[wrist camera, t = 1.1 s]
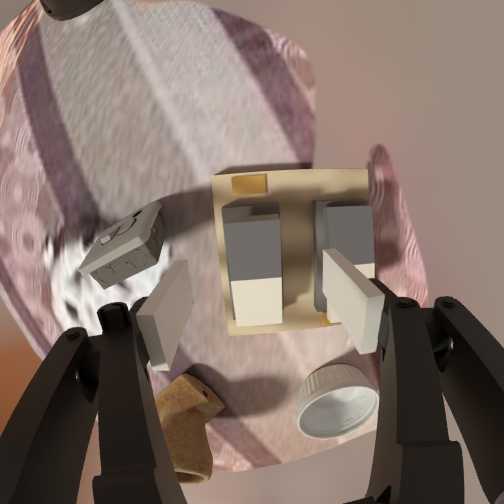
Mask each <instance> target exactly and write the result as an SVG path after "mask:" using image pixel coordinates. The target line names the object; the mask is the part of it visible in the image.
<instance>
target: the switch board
mask: <svg viewBox="0 0 504 504" xmlns="http://www.w3.org/2000/svg"><path fill="white" fill-rule="evenodd" d="M211 184H212V194H213V205H214V215H215V225H216V234H217V243H218V252H219V261H220V269H221V278H222V286H223V294H224V301H225V309H226V317H227V324H228V331H229V336H235V335H250V334H263V333H274V332H285V331H294V330H303V329H312V328H320V327H327V326H334V325H341V324H342V323H341V322H337V323H330V321H329V320H328V319H327V298H326V297H325V295H324V293H323V249H326V248H325V230H324V215H323V208H326V207H345V206H369V191H368V169H299V170H277V171H261V172H247V173H235V174H224V175H214V176H211ZM268 214H278V216H279V218H280V234H281V273H282V323H278V324H267V325H255V326H241V327H237V324H236V317H235V309H234V302H233V295H232V287H231V279H230V272H229V264H228V256H227V248H226V239H225V231H224V219H225V218H230V217H242V216H255V215H268Z"/></svg>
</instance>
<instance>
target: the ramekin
mask: <svg viewBox="0 0 504 504" xmlns="http://www.w3.org/2000/svg"><path fill="white" fill-rule="evenodd" d="M378 408H379V394H378V392H377V390H376V388H375V387H374V386H373V385H372V384H371V383H370V382H369V381H368V379H367V378H366V377H365V375H364V374H363V373H362V372H361V371H360V370H359V369H357V368H355V367H354V366H350V365H346V364H336V365H330V366H326V367H323V368H321V369H319V370H317V371H315V372H314V373H312V374H311V375H310V376H308V377H307V378H306V379H305V381H304V382H303V383H302V385H301V386H300V388H299V390H298V393H297V414H296V421H297V426H298V428H299V430H300V431H301V432H302V433H303V434H304V435H306V436H308V437H311V438H315V439H333V438H337V437H341V436H344V435H347V434H350V433H352V432H354V431H356V430H358V429H359V428H361V427H362V426H364V425H365V424H366V423H367V422H369V421H370V420H371V419H372V417H373V416H374V415H375V414H376V412H377V410H378Z"/></svg>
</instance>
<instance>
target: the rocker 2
mask: <svg viewBox="0 0 504 504" xmlns="http://www.w3.org/2000/svg"><path fill="white" fill-rule="evenodd" d="M323 215H324V230H325V248H326V249H336V250H337V251H338V252H340V253H341V254H342V255H343V256H344V257H345V258H346V259H347V260H348V261H349V262H351V263H352V264H353V265H354V266H355V267H356V268H357V269H358V270H359V271H360V272H361V273H362V274H364V275H365V276H366V277H367V278H375V264H374V229H373V212H372V206H345V207H326V208H323ZM327 319H328V320H329V321H330V323H337V322H340V320H339V318H338V317H337V315H336V313H335V312H334V310H333V308H332V307H331V305H330V303H329V302H328V300H327Z"/></svg>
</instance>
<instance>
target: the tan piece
mask: <svg viewBox="0 0 504 504" xmlns="http://www.w3.org/2000/svg"><path fill="white" fill-rule="evenodd" d="M155 403H156V408H157V412H158V416H159V419H160V423H161V427H162V431H163V434H164V438H165V441H166V444H167V448H168V451H169V454H170V457H171V460H172V463H173V466H174V469H175V472H176V475H177V478H178V481H179V483H180V484H201V483H204V482H206V481H208V480H209V479H210V477H211V474H212V465H213V458H212V453H211V450H210V447H209V444H208V440H207V435H206V430H205V424H206V423H207V422H208V421H209V420H210V419H212V418H213V417H214V416H215V415H216V414H217V413H219V412H220V411H221V410H222V409H223V408H224V407H225V406H224V404H223V403H222V402H221V401H220V400H219V398H218V397H217V395H216V394H214V393H213V391H212V390H210V388H209V387H208V386H206V385H204V384H203V383H202V382H201V381H200V380H198V379H196V378H195V377H193V376H191V375H189V374H181V375H180V376H178V377H177V378H176V379H175V380H174V381H172V382H171V383H170V384H169V385H168V386H167V387H166V388H165V389H164V390H163V391H162V392H161V393H159V394H158V395H157V396H156V397H155Z"/></svg>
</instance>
